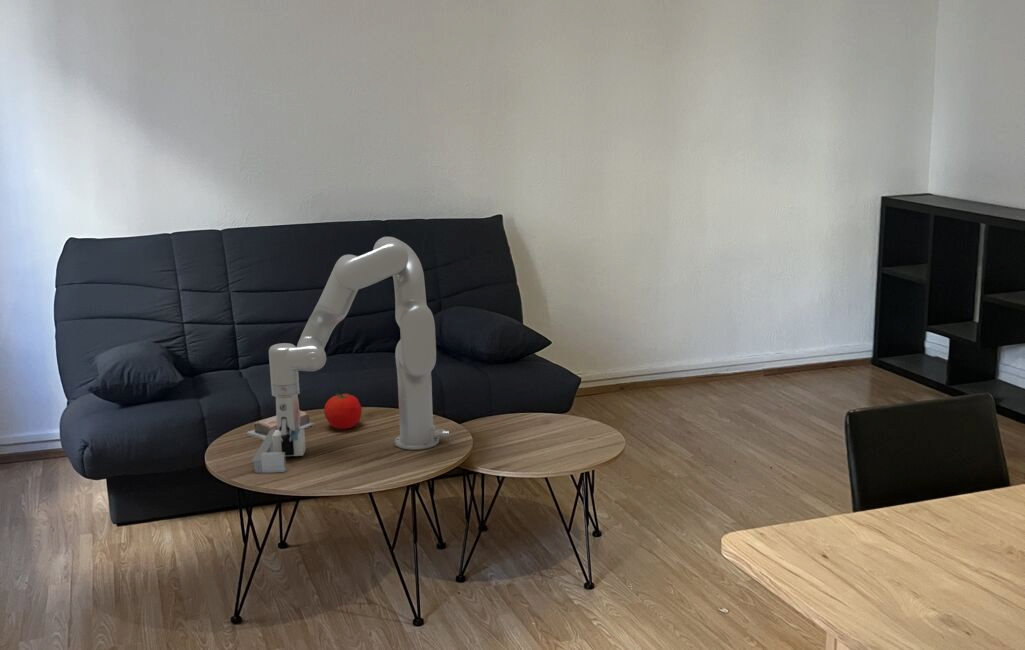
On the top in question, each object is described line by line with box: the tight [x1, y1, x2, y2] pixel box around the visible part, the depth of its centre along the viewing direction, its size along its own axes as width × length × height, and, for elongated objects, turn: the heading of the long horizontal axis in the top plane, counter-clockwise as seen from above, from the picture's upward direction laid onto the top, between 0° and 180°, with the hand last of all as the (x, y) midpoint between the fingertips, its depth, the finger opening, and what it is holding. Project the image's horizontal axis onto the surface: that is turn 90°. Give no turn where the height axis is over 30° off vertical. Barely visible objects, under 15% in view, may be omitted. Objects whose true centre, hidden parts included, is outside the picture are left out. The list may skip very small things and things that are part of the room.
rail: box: [251, 424, 300, 474], centre depth 301 cm, size 9×26×5 cm, turn 2°
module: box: [272, 429, 307, 457], centre depth 301 cm, size 8×5×6 cm, turn 92°
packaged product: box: [246, 409, 315, 441], centre depth 324 cm, size 18×5×10 cm
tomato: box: [323, 392, 363, 430], centre depth 325 cm, size 11×13×10 cm
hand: (289, 450), depth 301 cm, fingers closed on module, 5 cm apart
